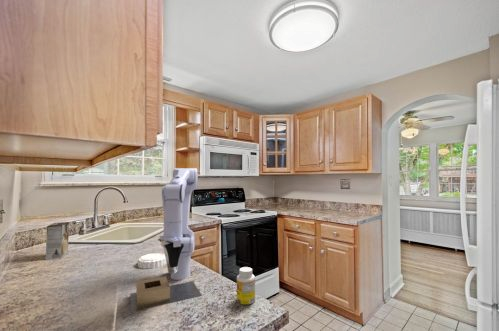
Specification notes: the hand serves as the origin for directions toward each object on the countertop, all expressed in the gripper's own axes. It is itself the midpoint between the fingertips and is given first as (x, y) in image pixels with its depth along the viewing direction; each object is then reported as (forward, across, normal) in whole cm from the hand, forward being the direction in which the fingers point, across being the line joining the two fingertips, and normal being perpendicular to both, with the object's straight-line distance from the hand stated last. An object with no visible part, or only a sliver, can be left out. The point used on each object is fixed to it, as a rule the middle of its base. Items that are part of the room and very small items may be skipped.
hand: (172, 264), depth 75 cm
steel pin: (+2, 0, 0) cm, 2 cm away
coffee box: (+10, -70, -42) cm, 83 cm away
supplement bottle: (+11, +14, +19) cm, 26 cm away
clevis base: (+10, -1, -2) cm, 11 cm away
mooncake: (+11, -36, -2) cm, 38 cm away
